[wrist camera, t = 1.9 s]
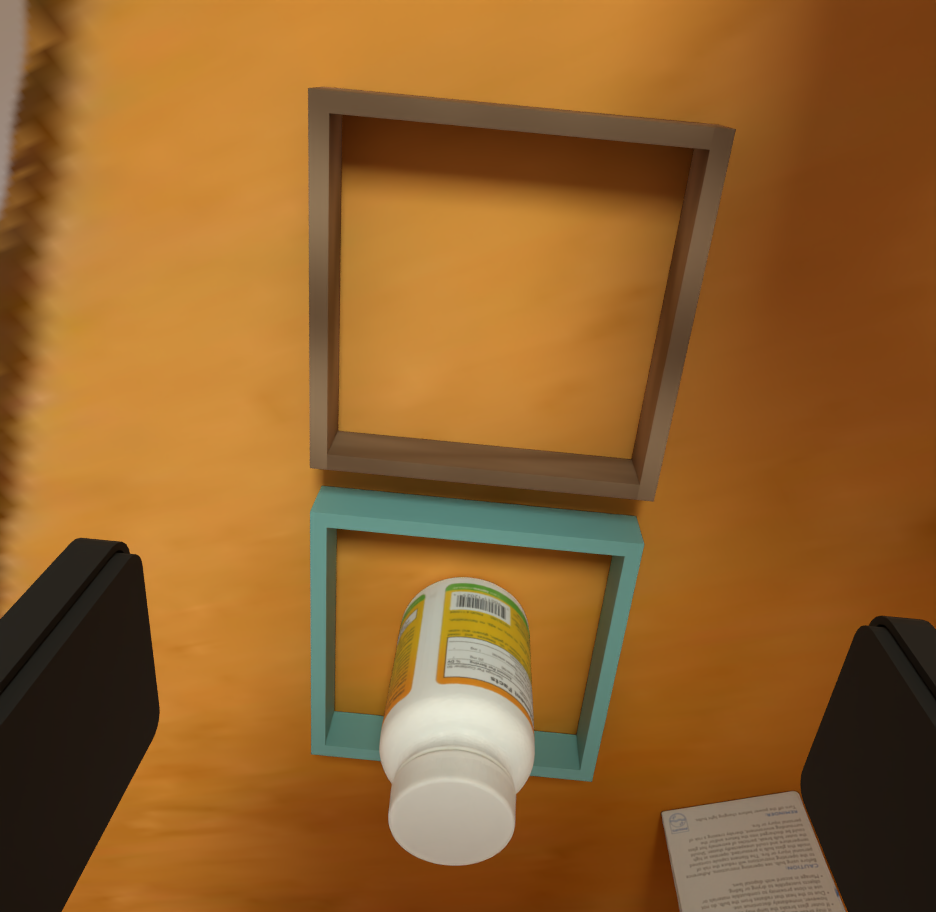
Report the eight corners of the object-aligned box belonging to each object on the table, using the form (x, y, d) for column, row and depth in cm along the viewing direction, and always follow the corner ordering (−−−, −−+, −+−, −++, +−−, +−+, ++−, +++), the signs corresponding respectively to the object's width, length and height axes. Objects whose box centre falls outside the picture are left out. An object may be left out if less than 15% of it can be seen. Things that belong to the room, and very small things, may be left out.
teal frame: (321, 485, 30) (310, 511, 28) (636, 516, 30) (644, 544, 28) (321, 719, 36) (311, 754, 34) (587, 745, 36) (591, 781, 34)
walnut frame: (323, 86, 24) (308, 87, 22) (718, 124, 24) (735, 129, 22) (322, 443, 29) (310, 467, 28) (644, 475, 29) (653, 501, 28)
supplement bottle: (435, 689, 35) (412, 898, 26) (379, 598, 33) (333, 791, 24) (549, 652, 33) (564, 858, 25) (498, 555, 31) (495, 742, 23)
